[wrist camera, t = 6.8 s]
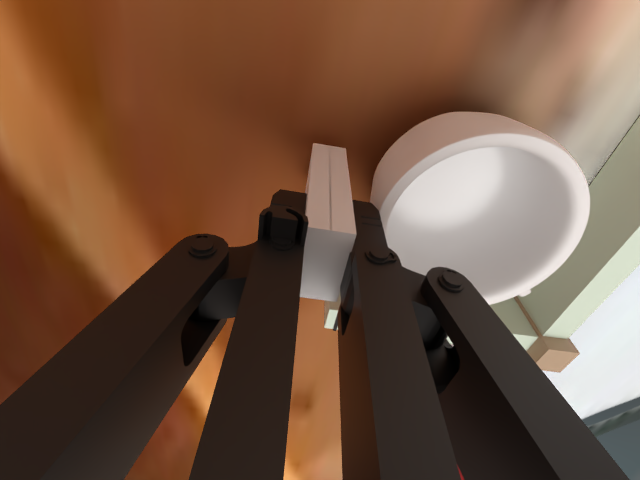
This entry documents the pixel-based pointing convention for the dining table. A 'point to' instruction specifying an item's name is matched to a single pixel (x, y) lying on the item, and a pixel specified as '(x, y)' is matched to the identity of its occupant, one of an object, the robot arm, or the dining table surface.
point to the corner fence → (577, 266)
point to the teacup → (481, 201)
